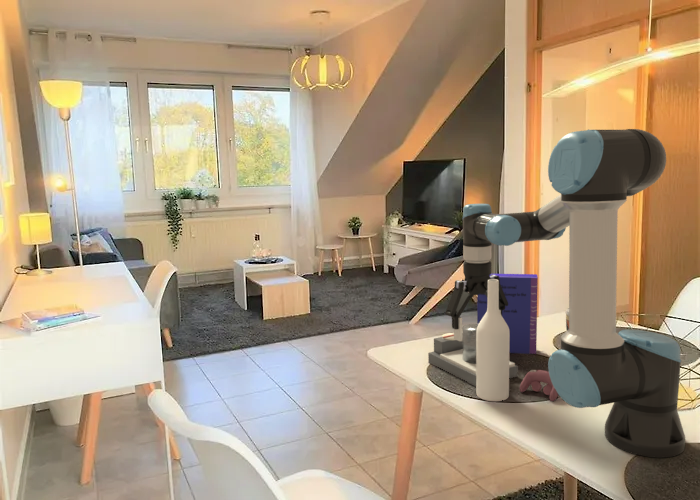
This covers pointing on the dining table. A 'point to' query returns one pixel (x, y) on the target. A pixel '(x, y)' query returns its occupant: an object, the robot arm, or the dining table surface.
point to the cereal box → (517, 310)
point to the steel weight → (469, 343)
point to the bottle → (492, 350)
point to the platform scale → (457, 359)
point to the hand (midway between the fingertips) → (477, 335)
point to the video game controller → (534, 380)
